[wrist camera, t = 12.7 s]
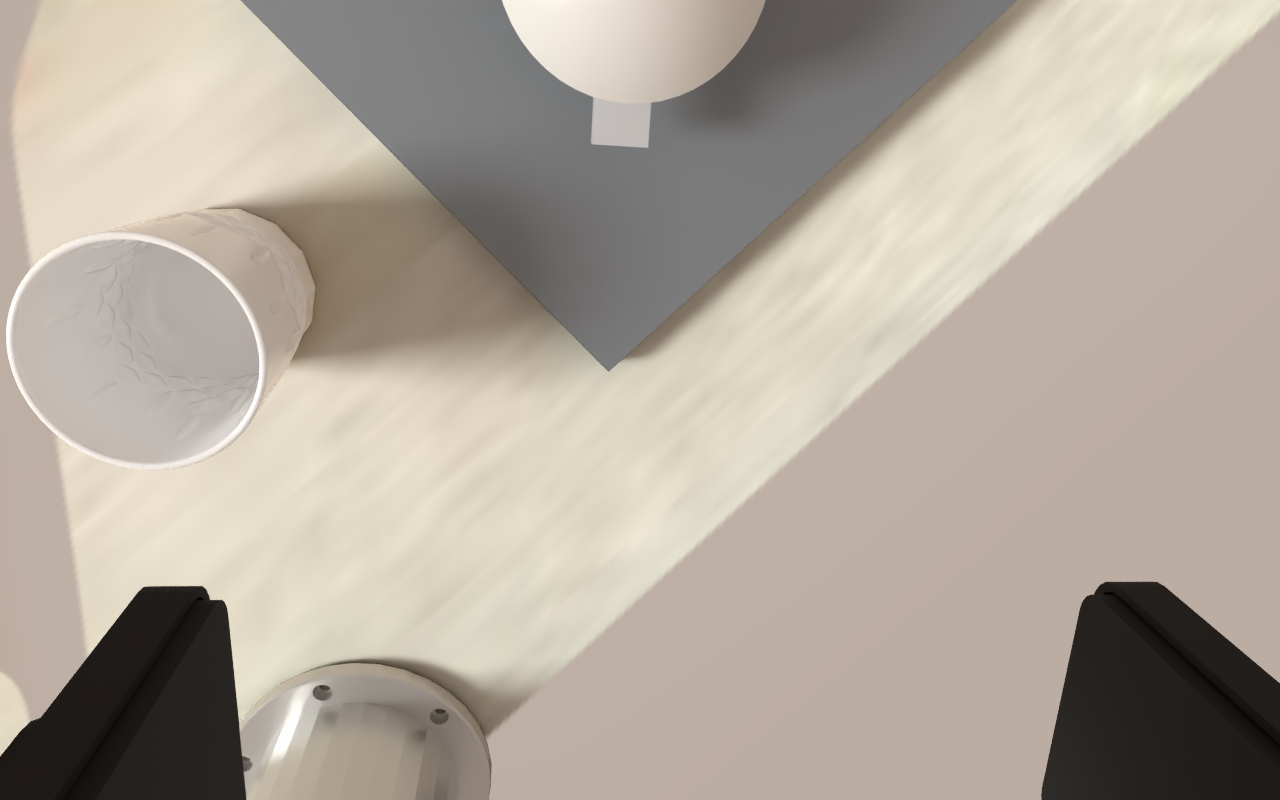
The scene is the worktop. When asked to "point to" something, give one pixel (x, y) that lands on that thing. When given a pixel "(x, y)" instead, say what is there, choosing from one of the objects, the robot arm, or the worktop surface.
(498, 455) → the worktop surface
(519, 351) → the worktop surface
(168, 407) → the white cup
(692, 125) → the post base
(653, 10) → the lever handle
